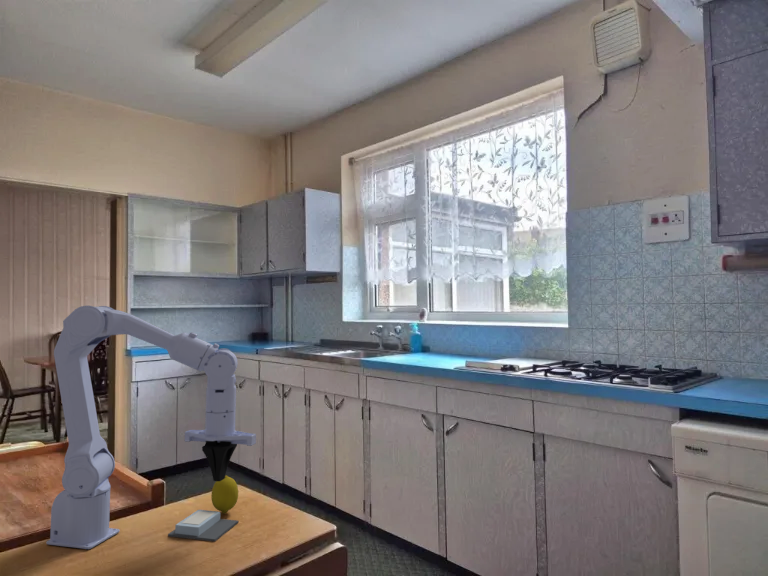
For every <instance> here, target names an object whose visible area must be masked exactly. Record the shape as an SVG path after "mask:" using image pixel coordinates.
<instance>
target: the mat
mask: <svg viewBox="0 0 768 576" xmlns="http://www.w3.org/2000/svg"><path fill="white" fill-rule="evenodd" d="M238 523H239V520H237V519H236V520H235V519H226V518H220V520H219V521H218V522H217V523H215V524H214V525H213V526H211V527H210V528H209V529H207V530H206V531H205V532H203V533H202V534H201V535H199V536H194V535H185V534H176V533H175V529H173V530H172V531H171V532H169V533H168V534H167V536H168V537H171V538H180V539H187V540H188V539H190V540H198V541H200V540H201V541H205V542H206V541H209V542H216V541H218V540H219V539H220V538H222V537H223V535H225V534H226V533H227V532H229V531H230V530H232V528H234V527H235V526H236V525H237V524H238Z"/></svg>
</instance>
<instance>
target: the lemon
mask: <svg viewBox="0 0 768 576" xmlns="http://www.w3.org/2000/svg"><path fill="white" fill-rule="evenodd" d="M212 486H213V487H212V488H211V495H210V496H211V503H212V506H213V507H214V508H215V510H216V511H218V512H220V513H222V514H227V513H228V511H230V510H231V509H233V508H234V507H235V506H236V504H237V503H238V499H239V488H238V484H237V482H236V481H235V479H234V478H232V477H230V476H229V475H226V474H225V479H223V480H221V481H214V484H213V485H212Z"/></svg>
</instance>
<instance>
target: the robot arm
mask: <svg viewBox="0 0 768 576" xmlns="http://www.w3.org/2000/svg"><path fill="white" fill-rule="evenodd" d="M62 322H63V323H62V325H63V326H62V327H63V328H62V330H61V332H60V335H59V338H58V339H57V342H56V344H55V347H54V349H53V357H54V363H55V368H56V369H55V370H56V374H57V381H58V386H59V392H60V393H59V394H60V399H61V404H62V411H63V418H64V422H65V429H66V435H67V439H68V440H67V441H68V447H67V450H66V453H65V456H64V471H63V474H62V478H61V484H62V487H63V489H64V490H62V491H60V492H59V493H58V494H57V495H56V496H55V498H54V500H53V502H52V505H51V510H50V534H49V535H50V536H49V538H50V539H49V540H46V542H45V543H46V545H51V546H58V547H59V546H60V547H65V548H67V547H68V548H75V549H76V548H77V549H82V550H84V549H85V550H91V549H93V548H94V547H96V546H98V545H99V544H101V543H103V542H105V541H106V540H108V539H110V538H111V537H113V536H115V535H117V534H119V533H120V530H121V529H119V528H113V527H110V515H111V514H110V509H111V506H110V505H111V483H110V482H109V477H111V476H112V474H113V473H114V471H115V469H116V468H115V467H116V462H115V461H116V460H115V457H114V456H113V454H112V453H111V452H110V451H109V449H108V446H107V441H106V440H105V439H104V438H103V437H102V436H101V432H100V426H99V421H98V414H97V409H96V401H95V396H94V391H93V385H92V379H91V373H90V367H89V361H88V356H89V354H91V353H92V352H93V350H94V349H95V348H96V347H97V346H98V345H99V344H100V343H101V342H102V341H104V340H106V339H108V338H110V337H111V336H117V335H118V336H120V335H129V336H131V337H133V338H136V339H139V340H141V341H144V342H146V343H149V344H151V345H154V346H156V347H159V348H161V349H163V350H166V351H167V352H168V356H169V358H170V360H173V361H175V362H178V363H179V364H182V365H185V366H186V367H189V368H191V369H194V370H196V371H198V372H204V373H205V375H206V376H207V378H206V379H207V383H206V389H205V428H204V429H189V430H186V431H184V442H185V443H186V442H188V443H189V442H202V443H205V444H204V445H202V447H201V451H202V452H203V454H204V456H205V458H206V459H207V461H208V464H209V467H210V470H211V476H212V480H213V482H216V481H221V480H223V479H225V475H226V474H227V471H228V466H229V464H230V460H231V458H232V456H233V453H234V452H235V450H236V448H237V447H238V445H246V446H249V447H251V446H254V445H256V443H257V433H252V432H250V433H249V432H245V431H241V430H240V431H239V430H236V411H237V410H236V409H237V405H236V404H237V386H236V382H237V378H236V373H235V372H236V371H237V369H238V366H239V365H238V363H239V360H238V358H237V356H236V354H235V353H234V352H232V351H231V350H230V349H229V348H224V347H223V348H220V345H219V344H218V343H213V344H212V343H210V342H207V341H205V340H203V339H200V338H198V333H195V332H189V333H188V332H180V333H179V334H176V335H175V334H173V333H171V332H169V331H167V330H164V329H163V328H160V327H159V326H156V325H155V324H152V323H151V322H148V321H146V320H144V319H142V318H140V317H138V316H136V315H134V314H131V313H128V312H125V311H122V310H119V309H114V308H112V307H110V306H109V305H108V306H107V305H100V306H99V305H98V306H94V305H93V306H92V305H81V306H79V307H77V308H75V309H74V310H73V311H72V312H71V313H69V314H68V315H67V317H65V318H64V319H63V320H62Z"/></svg>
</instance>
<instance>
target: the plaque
mask: <svg viewBox="0 0 768 576" xmlns="http://www.w3.org/2000/svg"><path fill="white" fill-rule="evenodd" d="M220 519H221V511H219V510H207V509H206V510H205V509H197V510H195V511H194V512H192V514H190V515H188V516H186V517H185V518H184V519H182V520H180V521H179V522H177V523H175V529H174V530H175V533H176V534H185V535H194V536H199V535H201V534H202V533H203V532H205V531H206V530H207V529H209V528H210V527H211V526H213V525H214V524H215V523H217V522H218V521H219V520H220Z"/></svg>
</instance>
